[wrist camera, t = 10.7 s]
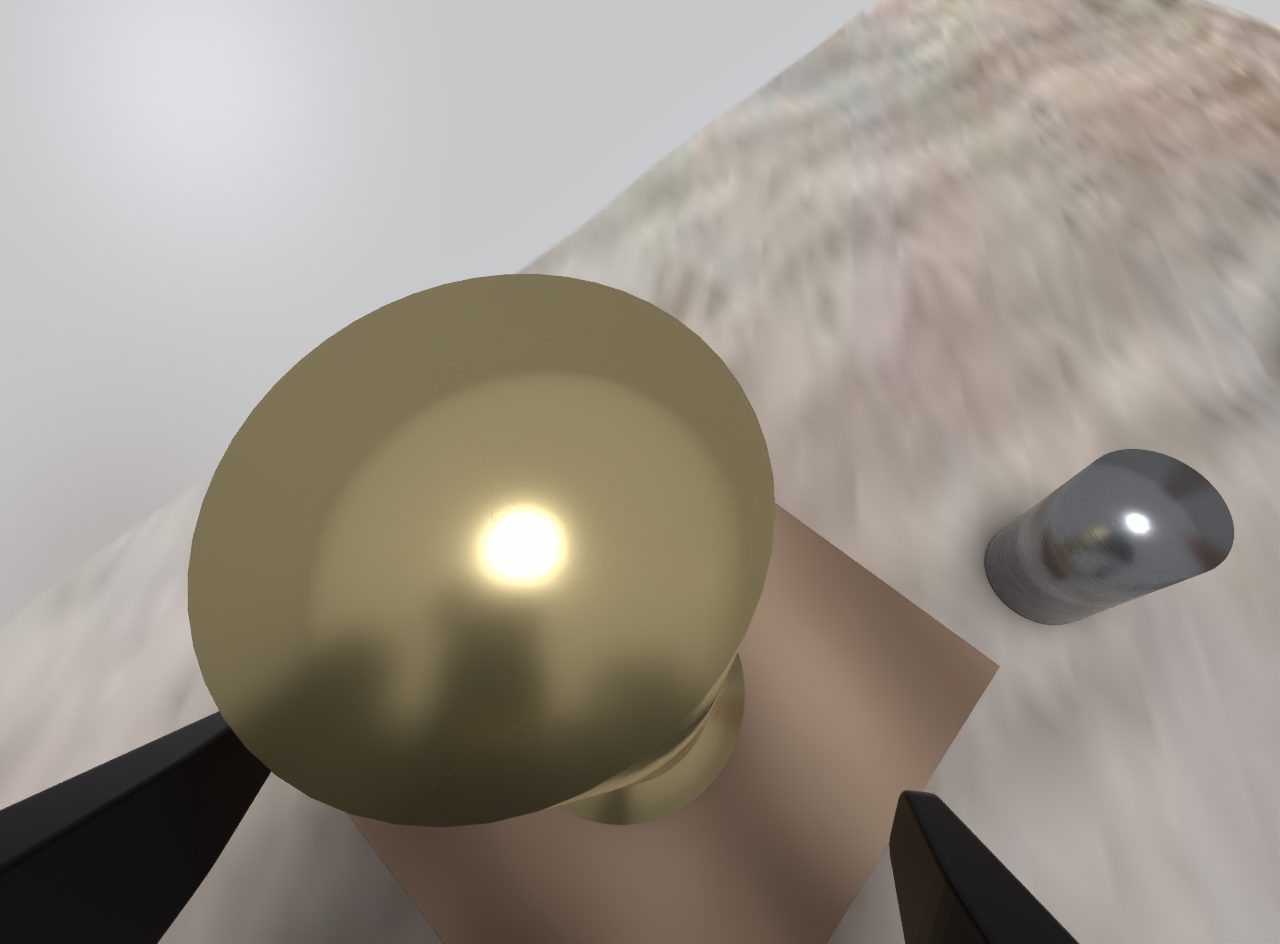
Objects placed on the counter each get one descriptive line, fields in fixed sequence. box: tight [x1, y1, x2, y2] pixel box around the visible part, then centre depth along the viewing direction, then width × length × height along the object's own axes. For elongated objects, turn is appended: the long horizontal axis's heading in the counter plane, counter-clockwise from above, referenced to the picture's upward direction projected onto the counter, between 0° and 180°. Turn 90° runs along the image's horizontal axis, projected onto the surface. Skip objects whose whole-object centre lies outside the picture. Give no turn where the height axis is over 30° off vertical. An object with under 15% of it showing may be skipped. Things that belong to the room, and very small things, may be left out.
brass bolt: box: [188, 274, 775, 827], centre depth 10 cm, size 6×6×13 cm
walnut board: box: [346, 503, 1000, 944], centre depth 17 cm, size 14×14×2 cm
